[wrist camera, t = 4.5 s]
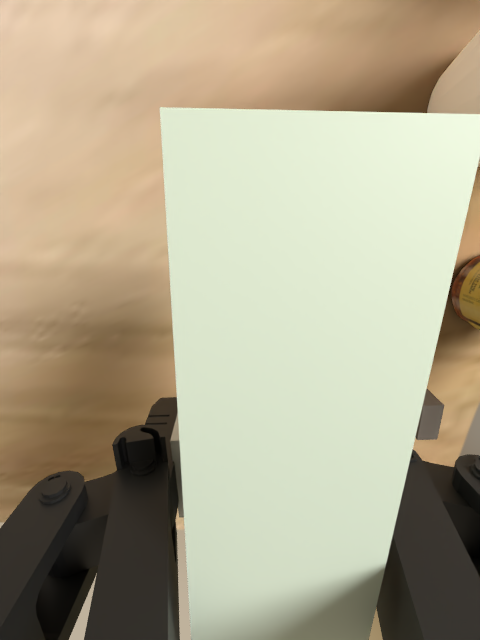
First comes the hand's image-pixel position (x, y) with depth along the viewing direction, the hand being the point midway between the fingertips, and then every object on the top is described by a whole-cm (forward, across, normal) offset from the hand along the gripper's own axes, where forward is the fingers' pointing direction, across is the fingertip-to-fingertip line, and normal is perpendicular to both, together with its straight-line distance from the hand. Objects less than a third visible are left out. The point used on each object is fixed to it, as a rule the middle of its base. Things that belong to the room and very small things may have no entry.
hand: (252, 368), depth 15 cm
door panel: (0, 0, 0) cm, 0 cm away
